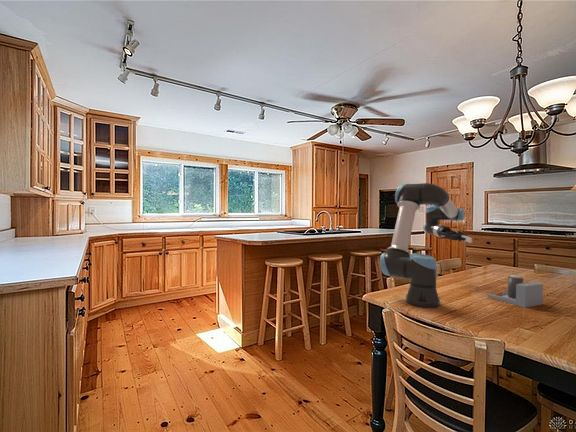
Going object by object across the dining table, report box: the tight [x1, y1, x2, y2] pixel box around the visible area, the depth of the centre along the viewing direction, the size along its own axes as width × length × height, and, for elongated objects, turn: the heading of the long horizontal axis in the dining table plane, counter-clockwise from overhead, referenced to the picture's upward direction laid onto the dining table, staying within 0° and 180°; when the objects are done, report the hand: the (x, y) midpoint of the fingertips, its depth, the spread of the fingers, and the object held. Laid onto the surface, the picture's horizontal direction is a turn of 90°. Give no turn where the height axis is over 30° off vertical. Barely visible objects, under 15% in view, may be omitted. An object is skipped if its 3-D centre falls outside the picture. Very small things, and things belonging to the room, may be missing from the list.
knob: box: [501, 274, 524, 301], centre depth 147 cm, size 8×8×12 cm
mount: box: [486, 281, 544, 308], centre depth 148 cm, size 13×18×10 cm
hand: (471, 240), depth 163 cm, fingers closed
